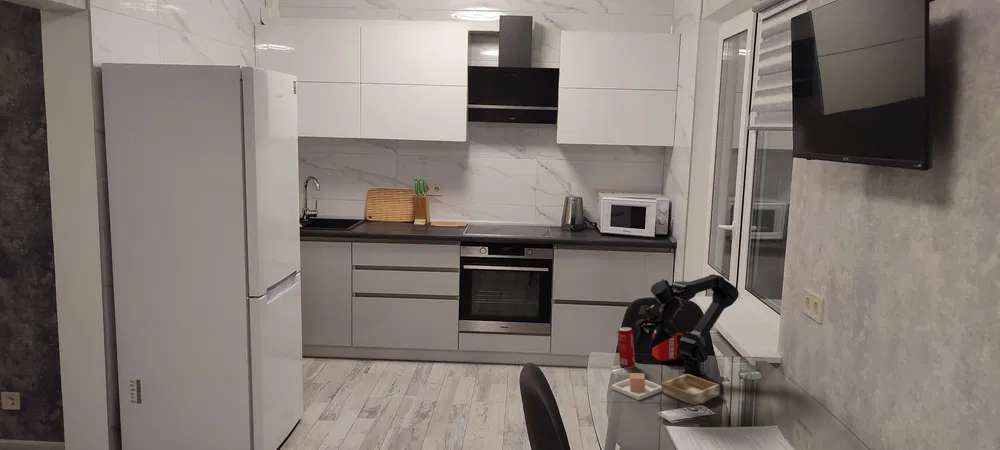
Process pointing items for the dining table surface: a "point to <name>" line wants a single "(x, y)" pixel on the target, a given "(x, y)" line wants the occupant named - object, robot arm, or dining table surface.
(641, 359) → the dining table surface
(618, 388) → the tray
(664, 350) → the mug
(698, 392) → the wooden bin
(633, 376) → the clay block
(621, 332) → the beverage can
